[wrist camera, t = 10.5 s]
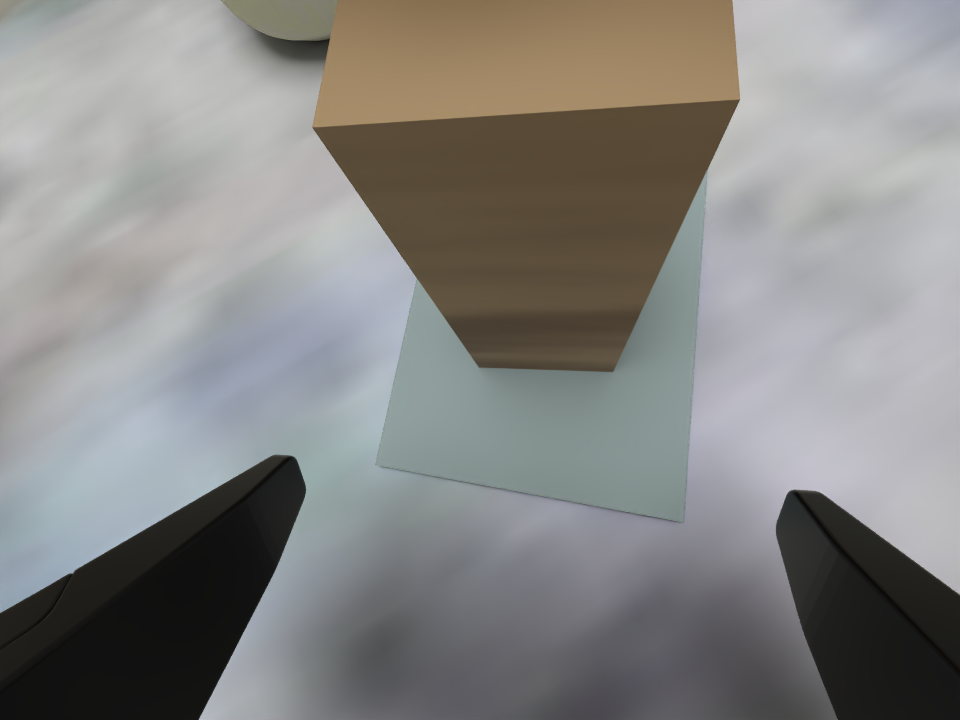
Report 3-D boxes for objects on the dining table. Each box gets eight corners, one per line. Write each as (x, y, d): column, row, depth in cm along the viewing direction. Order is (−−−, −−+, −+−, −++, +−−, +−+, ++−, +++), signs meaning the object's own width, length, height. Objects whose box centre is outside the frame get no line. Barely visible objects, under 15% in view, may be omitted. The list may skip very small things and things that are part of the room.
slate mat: (680, 521, 16) (683, 522, 15) (379, 465, 18) (375, 465, 17) (704, 165, 19) (707, 158, 18) (447, 156, 21) (445, 149, 21)
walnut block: (613, 372, 17) (740, 99, 5) (478, 367, 18) (312, 127, 6) (613, 248, 18) (716, -208, 6) (488, 250, 19) (367, -145, 7)
